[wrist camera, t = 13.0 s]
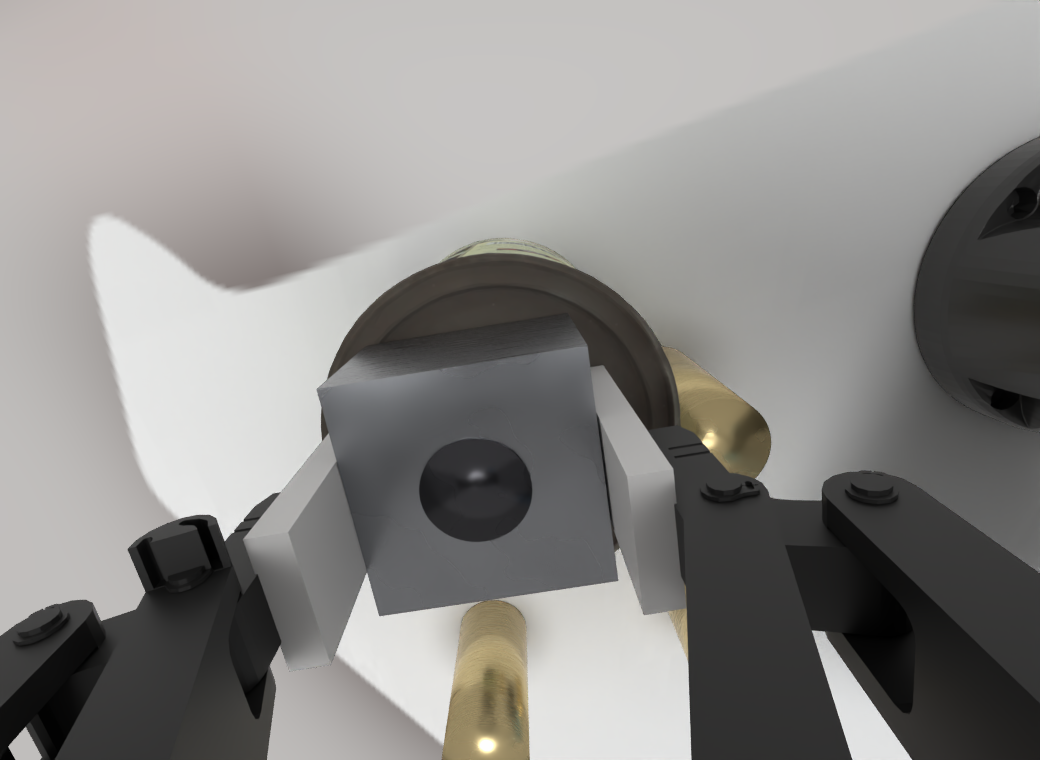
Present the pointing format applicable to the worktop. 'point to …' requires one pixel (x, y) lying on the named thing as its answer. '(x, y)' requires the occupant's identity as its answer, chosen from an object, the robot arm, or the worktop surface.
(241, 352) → the worktop surface
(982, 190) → the robot arm
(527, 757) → the brass spacer
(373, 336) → the coffee can
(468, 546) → the grey square block
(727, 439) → the brass spacer
